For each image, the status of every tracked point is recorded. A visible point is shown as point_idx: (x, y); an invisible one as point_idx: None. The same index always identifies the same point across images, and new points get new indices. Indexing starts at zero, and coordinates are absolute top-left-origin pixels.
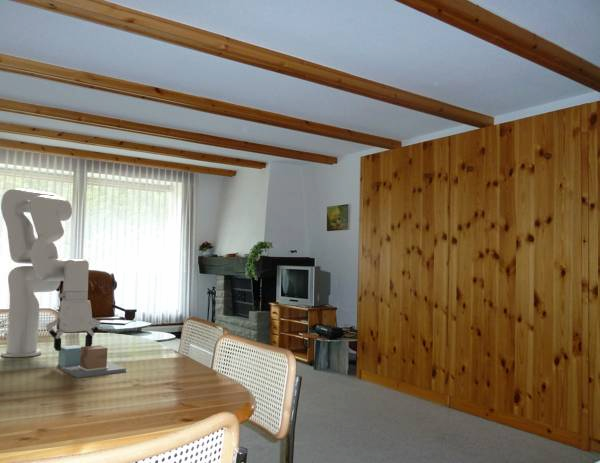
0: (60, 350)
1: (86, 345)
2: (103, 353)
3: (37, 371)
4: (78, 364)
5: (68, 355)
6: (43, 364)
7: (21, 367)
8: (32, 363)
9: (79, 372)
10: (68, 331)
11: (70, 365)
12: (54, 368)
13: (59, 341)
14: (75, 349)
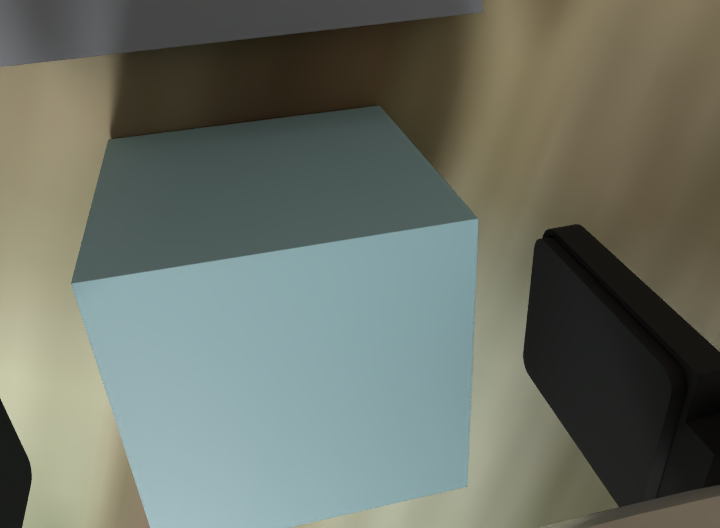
0: (538, 242)
1: (5, 455)
2: None
3: (686, 68)
4: (211, 31)
5: (381, 174)
6: (492, 396)
7: None
8: (550, 459)
9: None
10: (701, 492)
11: (342, 8)
12: (477, 158)
13: (680, 322)
14: (275, 240)
